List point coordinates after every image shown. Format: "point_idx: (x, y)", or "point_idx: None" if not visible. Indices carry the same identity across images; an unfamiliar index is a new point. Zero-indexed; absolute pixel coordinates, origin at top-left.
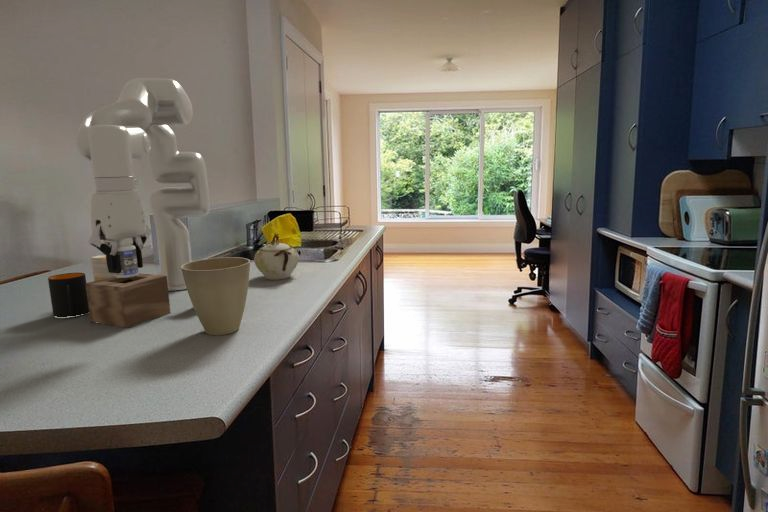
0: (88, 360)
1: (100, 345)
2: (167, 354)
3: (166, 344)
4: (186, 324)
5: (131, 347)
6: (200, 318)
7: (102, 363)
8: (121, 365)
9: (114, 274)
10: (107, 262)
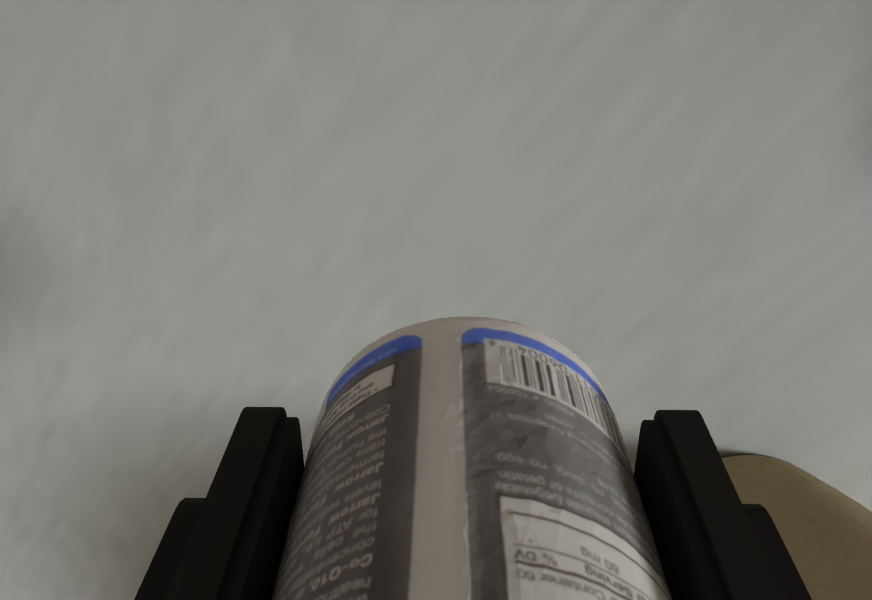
0: (77, 238)
1: (263, 63)
2: None
3: None
4: (802, 263)
5: (328, 288)
6: None
7: (98, 345)
8: (137, 447)
9: (325, 402)
10: (149, 587)
